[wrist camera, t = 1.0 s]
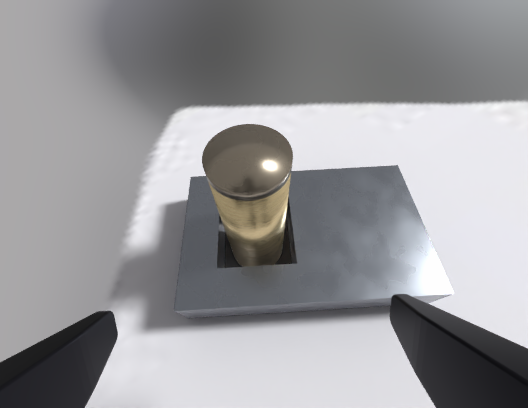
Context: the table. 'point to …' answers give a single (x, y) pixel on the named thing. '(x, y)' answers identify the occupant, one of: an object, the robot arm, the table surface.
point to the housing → (315, 249)
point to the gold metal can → (250, 189)
